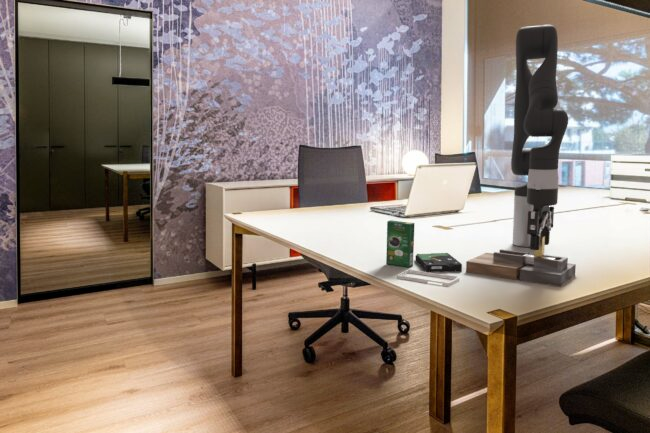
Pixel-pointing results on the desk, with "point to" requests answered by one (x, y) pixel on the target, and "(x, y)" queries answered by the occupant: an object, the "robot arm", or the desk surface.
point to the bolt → (537, 253)
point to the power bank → (429, 275)
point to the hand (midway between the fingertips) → (539, 247)
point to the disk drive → (438, 262)
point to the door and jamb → (523, 267)
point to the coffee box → (400, 243)
